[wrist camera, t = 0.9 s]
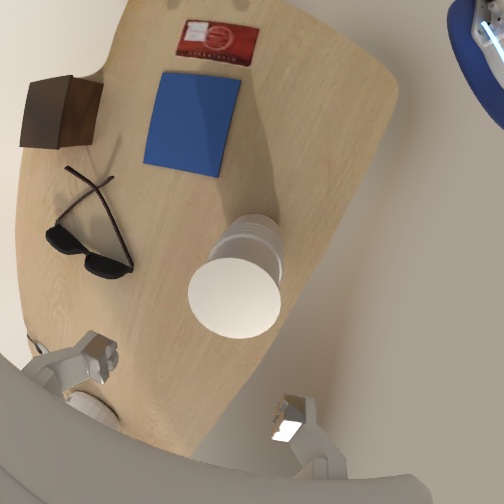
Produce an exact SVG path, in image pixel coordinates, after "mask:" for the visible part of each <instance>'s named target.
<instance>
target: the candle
mask: <svg viewBox="0 0 504 504" xmlns="http://www.w3.org/2000/svg"><path fill="white" fill-rule="evenodd" d="M283 248H284V238H283V234H282V232H281V229H280V228H279V226H278V225H277V224H276V223H275V222H274V220H272V219H271V218H270V217H268V216H266V215H263V214H258V213H253V214H247V215H244V216H241V217H239V218H237V219H236V220H235V221H234V222H232V224H231V225H230V226H229V228H228V229H227V230H226V231H225V232H224V233H223V235H222V236H221V237H220V239H219V240H218V241H217V243H216V244H215V245H214V247H213V248H212V250H211V252H210V255H209V258H208V261H207V262H206V263H204V264H203V265H202V266H201V267H199V268H198V270H197V271H196V273H195V274H194V275H193V277H192V278H191V281H190V284H189V288H188V300H189V303H190V306H191V310H192V311H193V313H194V314H195V316H196V318H197V319H198V320H199V321H200V322H201V323H202V324H203V325H204V326H205V327H206V328H208V329H209V330H211V331H213V332H214V333H217V334H219V335H222V336H224V337H229V338H235V339H241V338H250V337H254V336H257V335H259V334H261V333H263V332H265V331H266V330H268V329H269V328H270V327H271V326H272V325H273V324H274V322H275V321H276V319H277V317H278V315H279V312H280V306H281V296H280V289H279V284H280V282H281V280H282V277H283V270H284V267H283V266H284V249H283Z"/></svg>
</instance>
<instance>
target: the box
mask: <svg viewBox="0 0 504 504" xmlns="http://www.w3.org/2000/svg"><path fill="white" fill-rule="evenodd" d="M103 85H104V84H101V83H97V82H93V81H88V80H84V79H79V78H74V77H73V75H67V76H60V77H55V78H49V79H45V80H40V81H36V82H31V83H30V85H29V90H28V94H27V99H26V104H25V110H24V116H23V122H22V129H21V137H20V147H28V148H42V149H55V150H58V149H60V147H70V146H82V145H92V141H93V134H94V128H95V122H96V117H97V112H98V107H99V102H100V98H101V93H102V89H103Z"/></svg>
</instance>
